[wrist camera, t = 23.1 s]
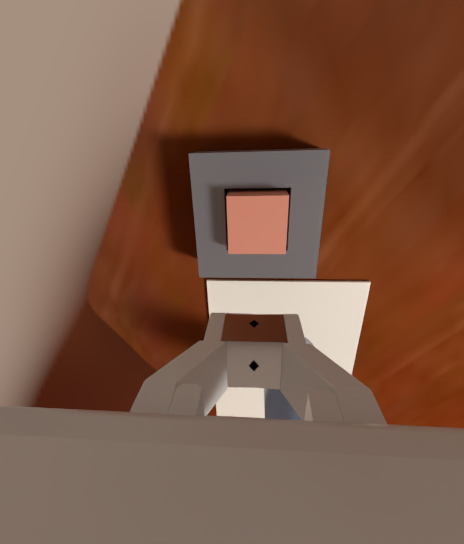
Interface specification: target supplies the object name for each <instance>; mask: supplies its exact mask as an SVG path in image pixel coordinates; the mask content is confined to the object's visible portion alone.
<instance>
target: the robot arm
mask: <svg viewBox="0 0 464 544" xmlns="http://www.w3.org/2000/svg"><path fill="white" fill-rule="evenodd" d="M227 387H243V388H266V389H280V391H281V392H282V394H283V395H284V396H285V398H286V399H287V401H288V402H289V403H290V405H291V406H292V407H293V409H294V410H295V411H296V413H297V414H298V415H299V417H300V418H301V419H302V420H285V419H264V418H242V417H221V416H206V415H207V414H208V413H209V411H210V410H211V409H212V408H213V406H214V405H215V404H216V403H217V401H218V400H219V399H220V398H221V396H222V395H223V394H224V393H225V391H226V390H227V389H228V388H227ZM0 544H464V428H449V427H427V426H407V425H387V423H386V421H385V419H384V417H383V414H382V412H381V410H380V408H379V406H378V404H377V402H376V400H375V398H374V395H373V393H372V391H371V390H370V389H369V388H368V387H366V386H365V385H364V384H363V383H361V382H360V381H359V380H357V379H356V378H355V377H353V376H352V375H351V374H349V373H348V372H347V371H346V370H344V369H343V368H342V367H340V366H339V365H338V364H336V363H335V362H334V361H332V360H331V359H330V358H329V357H327V356H326V355H325V354H323V353H322V352H321V351H319V350H318V349H317V348H316V347H314V346H313V345H312V344H306V341H305V337H304V333H303V330H302V326H301V322H300V318H299V315H298V314H243V313H211V314H210V318H209V322H208V325H207V329H206V333H205V337H204V340H203V341H198V342H197V343H195V344H194V345H193V346H191V347H190V348H189V349H187V350H186V351H184V352H183V353H182V354H180V355H179V356H178V357H176V358H175V359H173V360H172V361H171V362H169V363H168V364H167V365H165V366H164V367H162V368H161V369H160V370H158V371H157V372H156V373H154V374H153V375H152V376H150V377H149V378H147V379H146V380H145V381H144V383H143V385H142V387H141V389H140V391H139V393H138V396H137V397H136V400H135V402H134V404H133V406H132V408H131V410H130V412H117V411H97V410H76V409H55V408H34V407H14V406H0Z"/></svg>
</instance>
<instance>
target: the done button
mask: <svg viewBox="0 0 464 544" xmlns="http://www.w3.org/2000/svg"><path fill="white" fill-rule="evenodd" d="M226 200H227V228H228V254H286V242H287V225H288V207H289V194H288V192H287V191H286V189H285V188H280V189H230V190H229V192H228V194H227V196H226Z"/></svg>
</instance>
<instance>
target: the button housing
mask: <svg viewBox="0 0 464 544" xmlns="http://www.w3.org/2000/svg"><path fill="white" fill-rule="evenodd" d="M188 155H189V167H190V178H191V189H192V201H193V212H194V223H195V235H196V246H197V257H198V269H199V277H228V278H316V271H317V262H318V254H319V245H320V236H321V227H322V218H323V209H324V200H325V191H326V183H327V174H328V165H329V156H330V150H329V149H323V148H302V149H266V150H230V151H197V152H193V153H188ZM280 188H285V189H286V191H287V192H288V194H289V207H288V225H287V242H286V254H228V228H227V200H226V196H227V194H228V192H229V190H230V189H280Z"/></svg>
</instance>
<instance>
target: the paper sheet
mask: <svg viewBox="0 0 464 544" xmlns="http://www.w3.org/2000/svg"><path fill="white" fill-rule="evenodd" d="M370 284H371V282H370V281H319V280H219V279H207V293H208V306H209V318H210V314H211V313H243V314H298V315H299V318H300V322H301V326H302V330H303V333H304V337H305V341H306V344H312V345H313V346H314V347H316V348H317V349H318V350H319V351H321V352H322V353H323V354H325V355H326V356H327V357H329V358H330V359H331V360H332V361H334V362H335V363H336V364H338V365H339V366H340V367H342V368H343V369H344V370H346V371H347V372H348V373H349V374H351V375H352V370H353V365H354V360H355V355H356V351H357V346H358V341H359V336H360V332H361V327H362V322H363V317H364V312H365V308H366V303H367V298H368V293H369V289H370ZM227 388H228V389H227V390H226V391H225V393H224V394H223V395H222V396H221V398H220V399H219V400H218V401H217V403H216V412H217V416H237V417H257V418H265V408H264V388H243V387H227Z"/></svg>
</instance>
